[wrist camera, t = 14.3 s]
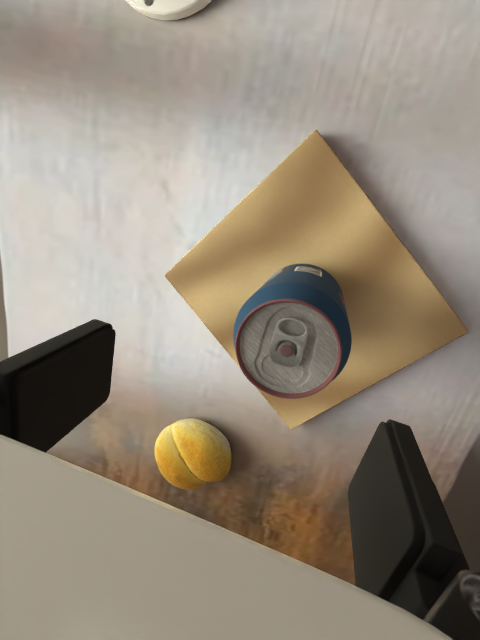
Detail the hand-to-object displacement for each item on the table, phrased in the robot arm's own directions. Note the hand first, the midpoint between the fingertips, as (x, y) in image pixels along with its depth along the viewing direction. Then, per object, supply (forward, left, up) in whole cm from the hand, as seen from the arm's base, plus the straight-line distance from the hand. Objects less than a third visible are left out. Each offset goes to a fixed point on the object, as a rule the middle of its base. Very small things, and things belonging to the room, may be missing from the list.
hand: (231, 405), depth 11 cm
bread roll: (+8, -21, -21) cm, 30 cm away
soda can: (+1, 0, -19) cm, 19 cm away
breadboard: (+1, 0, -20) cm, 20 cm away
